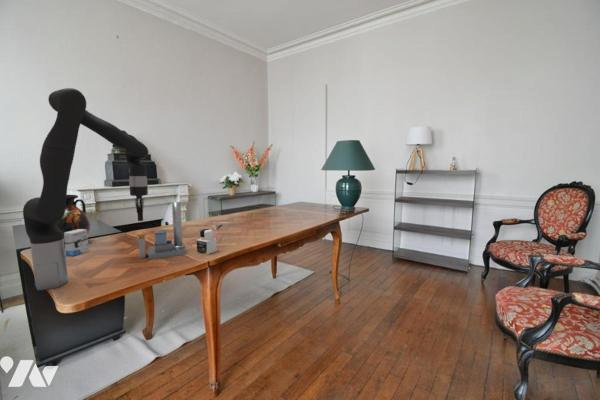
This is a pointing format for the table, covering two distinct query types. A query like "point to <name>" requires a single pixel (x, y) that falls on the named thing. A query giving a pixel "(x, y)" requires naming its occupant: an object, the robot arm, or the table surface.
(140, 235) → the wedge pin
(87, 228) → the amphora vase
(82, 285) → the table surface
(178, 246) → the grey base with post
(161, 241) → the blue-grey rectangular block
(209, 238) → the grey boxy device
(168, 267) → the table surface
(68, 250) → the ink box
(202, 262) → the table surface
